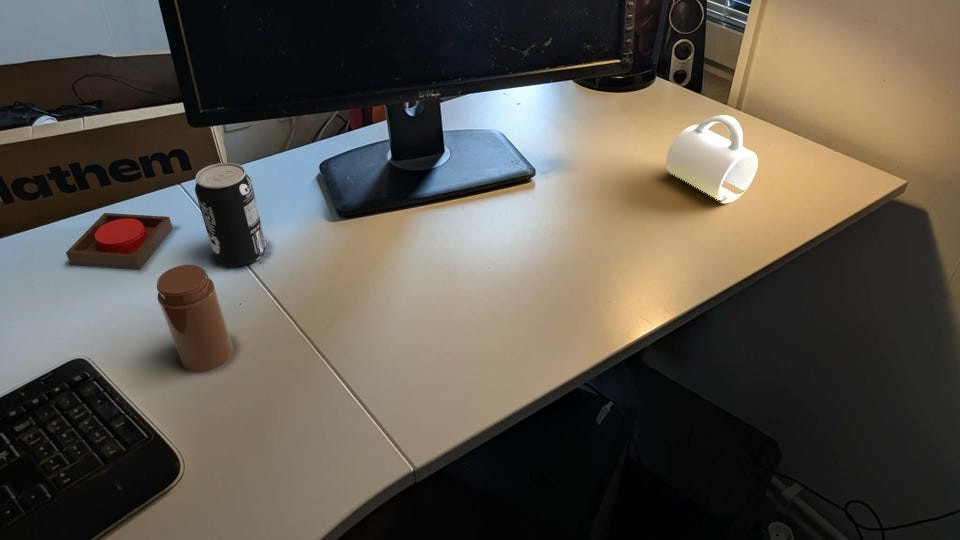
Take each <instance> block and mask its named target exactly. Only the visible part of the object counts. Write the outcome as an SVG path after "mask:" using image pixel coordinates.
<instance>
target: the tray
mask: <svg viewBox="0 0 960 540" xmlns="http://www.w3.org/2000/svg"><path fill="white" fill-rule="evenodd" d="M125 218H131V219H136V220H139V221H140V222H142V224H143V226H144V227H145V230H146V232H147V239H146V240H145V241H144V243H143V244H142V245H141V246H140V247H139V249H137V250H135V251H133V252H131V253H128V254H121V253H106V252H101V250H100V249H99V248H98V246H97V243H96V239H95V233H96V231H97V230H98V229H99V228H100V227H101V226H103V225H104V224H106V223H109V222H111V221H114V220H118V219H125ZM173 230H174V226H173V224H172V221H171V218H170V216H163V215H148V214H147V215H146V214H129V213H114V212H112V213H111V212H104V213H102V214H101V216H99V218H98V219H96V221H94V222H93V224H92V225H91V226H90V227H89V228H88V229H87V230H86V231H85V232H84V233H83V234H82V235H81V236H80V237H79V238H78V239H77V240H76V241H75V243H74V244H72V245H71V246H70V247H69V248H68V249H67V251H66V252H65V254H66V256H67V259H68V261H69V263H70V265H71V266H81V267H95V268H109V269H110V268H112V269H122V270H123V269H124V270H125V269H126V270H138V271H139V270H142V268H143V267H144V266H145V265H146V263H147V262H148V261H149V260H150V259H151V257H152V256H153V255H154V254H155V253H156V251H157V250H158V249H159V247H160V246H161V245H162V244H163V243H164V241H165V240H166V239H167V237H168V236H169V235H170V234H171V232H172V231H173Z"/></svg>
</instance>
